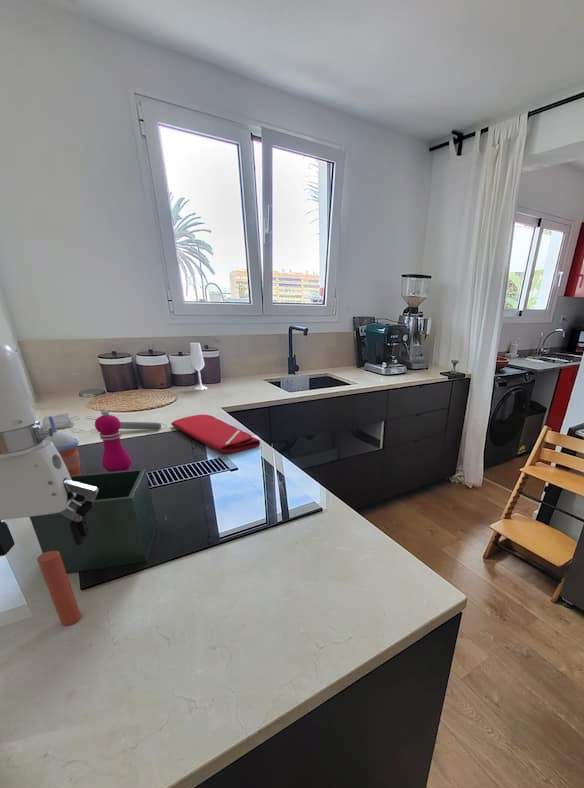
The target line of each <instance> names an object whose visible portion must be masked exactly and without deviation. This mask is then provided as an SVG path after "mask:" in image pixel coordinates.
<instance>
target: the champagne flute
mask: <svg viewBox="0 0 584 788" xmlns="http://www.w3.org/2000/svg"><path fill="white" fill-rule="evenodd" d="M189 344H190V345H189V347H190V364H191V367H192V368H193V369H194V370H195V371H197V376H198V382H199V385H198V386H196V387H195V388H194V390H196V391H203V390H204V389H205V390H208V387H207V386H205V385H203V382H202V375H201V371H202V370H203V369H204V368H205V365H206V364H205V359H204V354H203V351H202V346H201V343H200V342H190V343H189ZM205 390H204V391H205Z"/></svg>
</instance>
